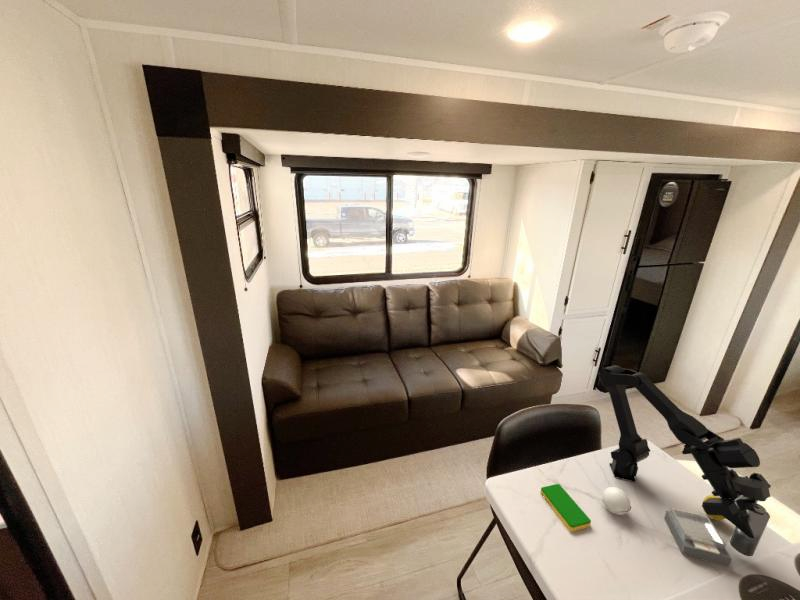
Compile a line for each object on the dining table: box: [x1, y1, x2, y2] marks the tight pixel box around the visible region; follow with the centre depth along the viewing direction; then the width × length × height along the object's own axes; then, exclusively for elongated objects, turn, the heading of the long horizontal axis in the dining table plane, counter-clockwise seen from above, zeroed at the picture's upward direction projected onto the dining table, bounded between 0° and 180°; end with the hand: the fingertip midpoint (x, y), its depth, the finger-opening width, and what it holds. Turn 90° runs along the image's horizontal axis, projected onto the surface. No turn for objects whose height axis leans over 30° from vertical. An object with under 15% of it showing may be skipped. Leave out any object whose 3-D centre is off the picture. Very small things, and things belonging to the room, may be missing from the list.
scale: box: [663, 507, 733, 568], centre depth 89 cm, size 10×11×5 cm
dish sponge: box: [540, 483, 592, 532], centre depth 99 cm, size 7×14×2 cm, turn 13°
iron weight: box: [729, 502, 771, 557], centre depth 83 cm, size 4×4×14 cm
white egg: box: [601, 486, 632, 516], centre depth 98 cm, size 10×7×7 cm
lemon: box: [701, 494, 726, 521], centre depth 95 cm, size 6×6×8 cm
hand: (756, 534), depth 82 cm, fingers closed on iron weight, 4 cm apart
